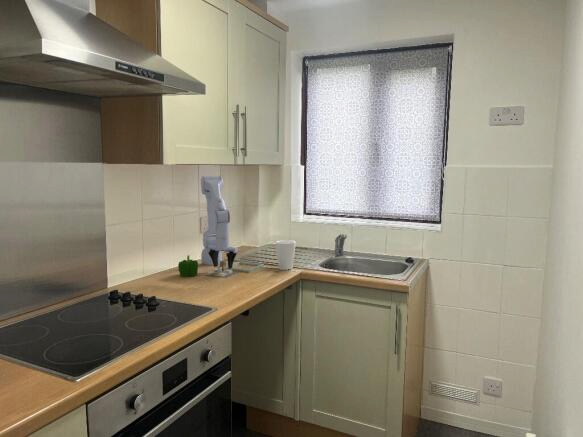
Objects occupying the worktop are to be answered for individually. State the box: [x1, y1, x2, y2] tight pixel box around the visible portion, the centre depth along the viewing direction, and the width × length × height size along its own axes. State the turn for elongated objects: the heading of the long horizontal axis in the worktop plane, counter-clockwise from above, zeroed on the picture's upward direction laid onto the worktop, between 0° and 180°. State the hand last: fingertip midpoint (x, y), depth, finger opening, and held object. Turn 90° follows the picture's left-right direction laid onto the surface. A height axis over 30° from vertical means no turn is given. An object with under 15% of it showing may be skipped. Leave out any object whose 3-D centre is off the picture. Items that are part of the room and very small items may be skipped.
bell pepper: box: [178, 255, 199, 278], centre depth 195 cm, size 8×8×10 cm
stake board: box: [204, 266, 240, 279], centre depth 198 cm, size 11×11×4 cm
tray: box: [226, 261, 265, 273], centre depth 210 cm, size 14×14×2 cm
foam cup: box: [275, 239, 297, 271], centre depth 213 cm, size 10×9×13 cm
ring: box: [206, 259, 232, 278], centre depth 198 cm, size 8×8×5 cm
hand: (223, 267), depth 200 cm, fingers open, 7 cm apart
